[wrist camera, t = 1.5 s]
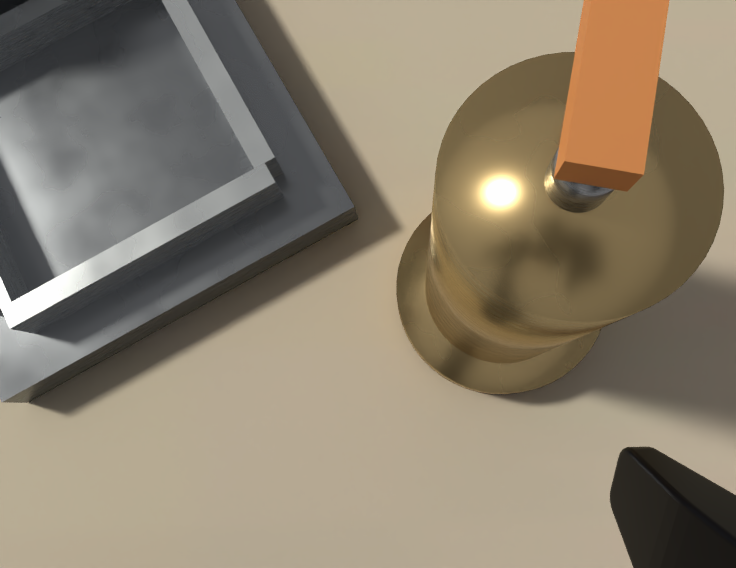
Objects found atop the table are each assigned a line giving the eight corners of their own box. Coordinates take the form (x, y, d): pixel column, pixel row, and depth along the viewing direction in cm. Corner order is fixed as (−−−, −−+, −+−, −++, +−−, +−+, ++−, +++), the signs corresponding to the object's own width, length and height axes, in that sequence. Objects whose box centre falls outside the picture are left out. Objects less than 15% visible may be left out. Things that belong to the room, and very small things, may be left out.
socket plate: (357, 218, 25) (336, 146, 18) (26, 402, 24) (-123, 400, 18) (136, -165, 29) (51, -342, 22) (-152, -12, 28) (-331, -145, 21)
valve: (581, 413, 23) (833, 420, 9) (379, 371, 24) (331, 319, 10) (615, 194, 24) (877, -86, 11) (422, 160, 25) (433, -142, 11)
